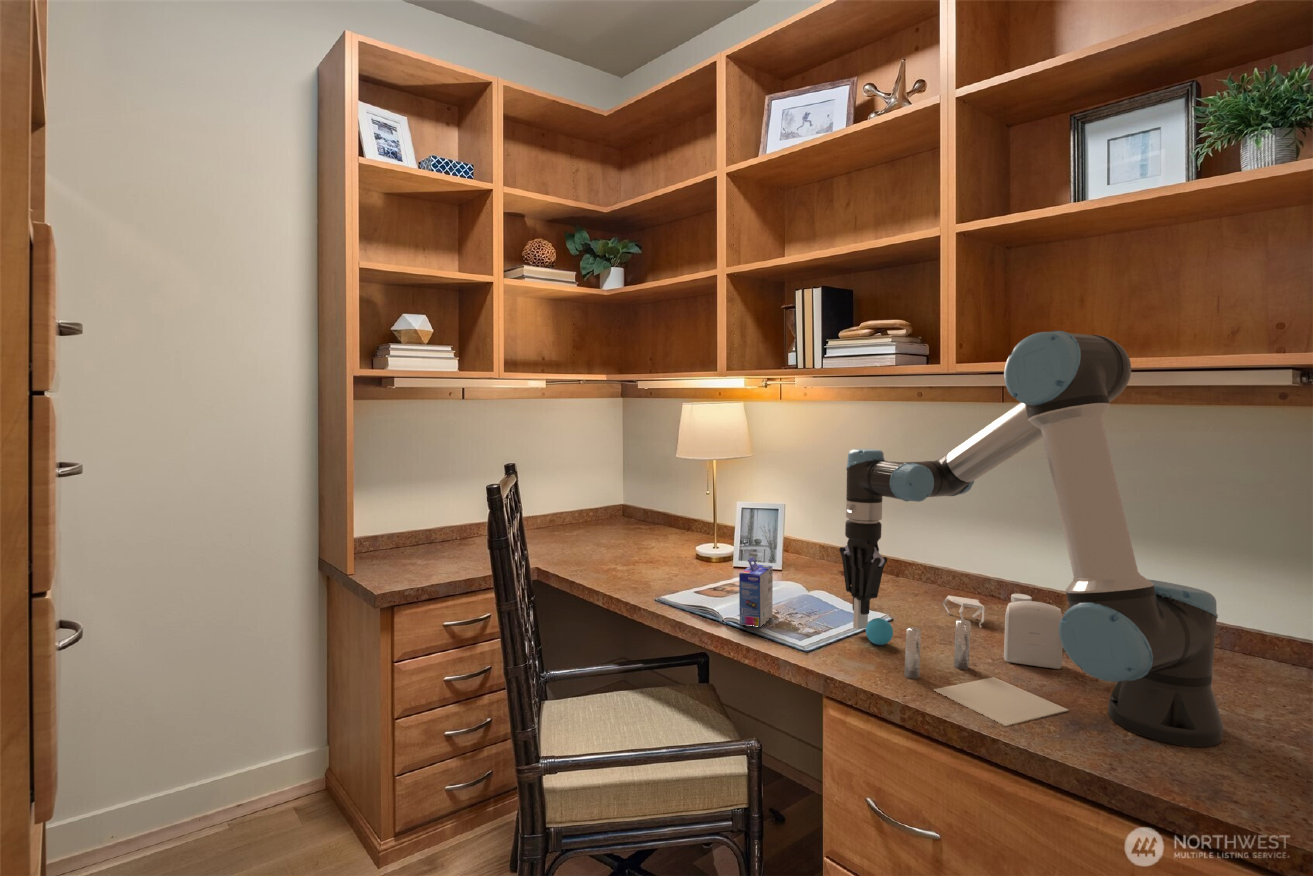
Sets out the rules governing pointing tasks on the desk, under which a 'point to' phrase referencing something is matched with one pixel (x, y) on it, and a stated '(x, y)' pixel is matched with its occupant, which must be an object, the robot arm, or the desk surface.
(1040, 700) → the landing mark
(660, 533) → the desk surface
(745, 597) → the ink cartridge box
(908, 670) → the gate post left
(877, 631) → the ball
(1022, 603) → the photo printer
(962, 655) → the gate post right
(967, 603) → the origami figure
